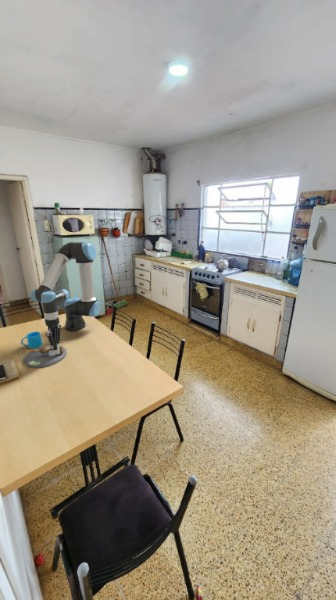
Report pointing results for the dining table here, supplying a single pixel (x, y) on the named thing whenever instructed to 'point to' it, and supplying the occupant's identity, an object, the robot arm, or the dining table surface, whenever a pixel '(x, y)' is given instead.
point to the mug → (33, 340)
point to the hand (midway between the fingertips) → (57, 353)
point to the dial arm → (46, 349)
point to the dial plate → (43, 358)
